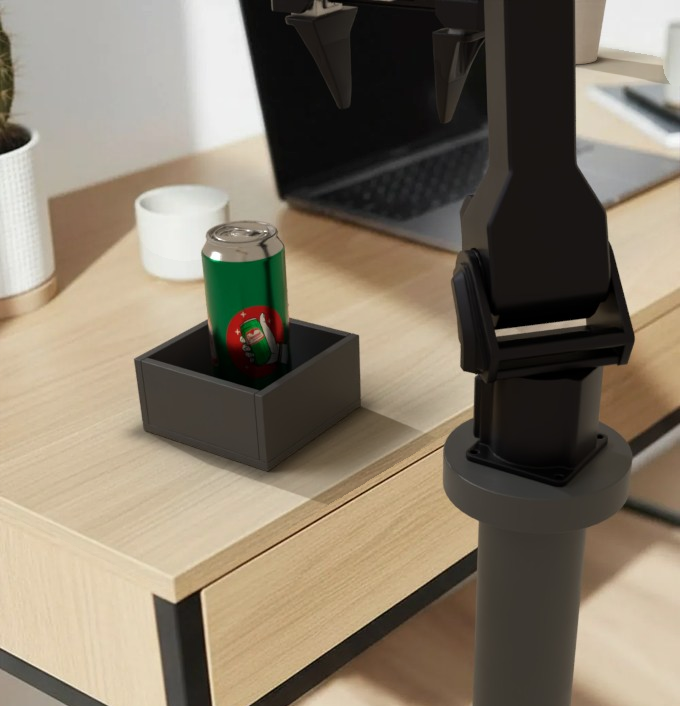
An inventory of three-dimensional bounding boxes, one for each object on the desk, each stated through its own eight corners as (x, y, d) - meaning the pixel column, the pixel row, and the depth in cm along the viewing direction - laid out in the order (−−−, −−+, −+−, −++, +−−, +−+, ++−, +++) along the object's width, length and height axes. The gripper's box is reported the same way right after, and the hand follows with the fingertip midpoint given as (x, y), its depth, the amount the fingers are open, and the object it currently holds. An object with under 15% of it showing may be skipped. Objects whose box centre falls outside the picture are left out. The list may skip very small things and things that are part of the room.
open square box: (361, 405, 80) (359, 334, 77) (267, 472, 73) (262, 396, 70) (241, 371, 85) (235, 303, 82) (143, 430, 78) (133, 358, 75)
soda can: (236, 387, 81) (221, 214, 75) (306, 397, 80) (296, 221, 73) (204, 421, 77) (184, 242, 71) (276, 432, 76) (263, 249, 69)
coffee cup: (622, 57, 165) (633, -63, 157) (579, 70, 159) (588, -54, 151) (566, 48, 171) (574, -68, 163) (523, 60, 165) (529, -60, 157)
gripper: (564, -121, 85) (550, 105, 93) (346, -126, 94) (352, 80, 103) (488, -105, 77) (481, 140, 86) (259, -112, 87) (273, 110, 95)
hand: (393, 114), depth 92 cm, fingers open, 9 cm apart
